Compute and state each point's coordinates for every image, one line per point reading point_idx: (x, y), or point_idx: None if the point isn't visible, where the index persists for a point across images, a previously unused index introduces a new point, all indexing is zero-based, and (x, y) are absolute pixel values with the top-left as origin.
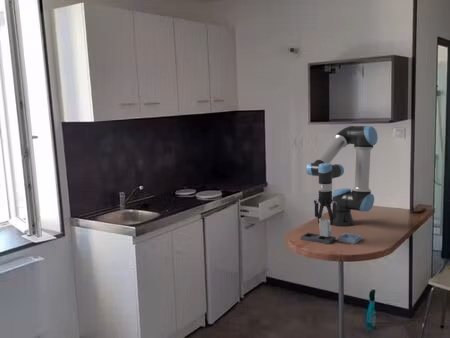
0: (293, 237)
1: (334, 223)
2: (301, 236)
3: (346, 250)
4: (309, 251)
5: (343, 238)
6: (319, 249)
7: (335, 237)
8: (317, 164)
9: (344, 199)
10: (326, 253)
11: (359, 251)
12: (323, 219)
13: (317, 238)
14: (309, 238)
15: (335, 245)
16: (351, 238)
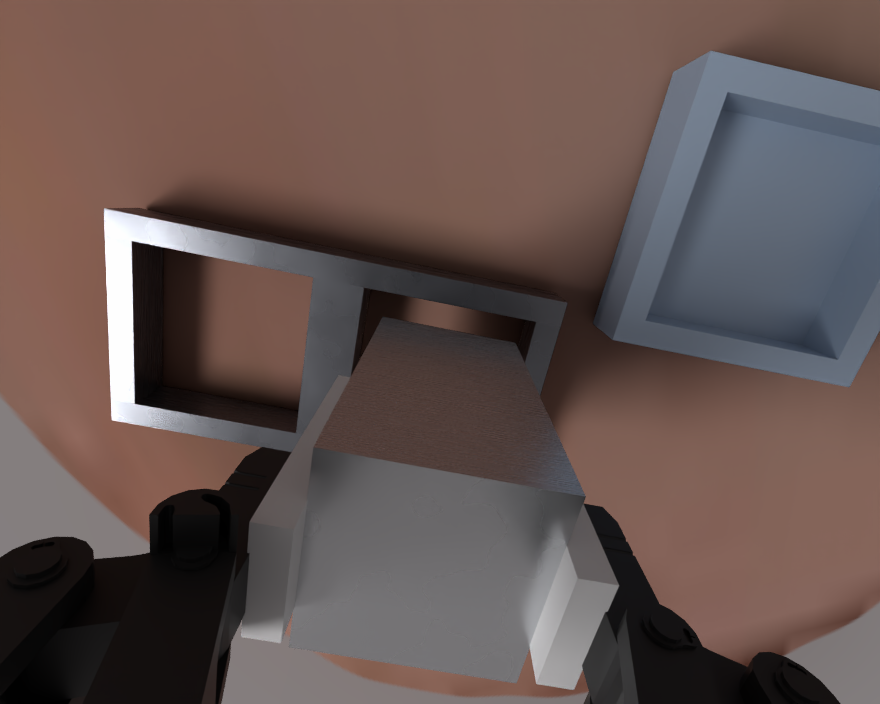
0: (13, 332)
1: None
2: (125, 422)
3: (696, 573)
4: (373, 680)
5: (685, 352)
6: None
7: (564, 307)
8: None
9: None
10: (524, 683)
11: (823, 565)
12: (350, 531)
13: None
14: (246, 438)
15: (575, 467)
16: (781, 176)
